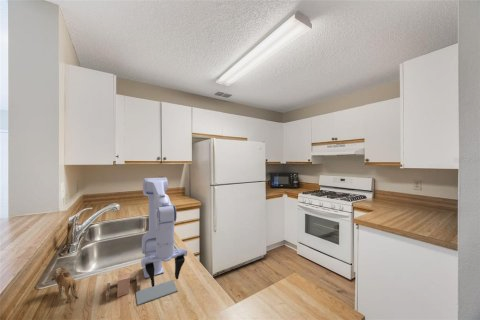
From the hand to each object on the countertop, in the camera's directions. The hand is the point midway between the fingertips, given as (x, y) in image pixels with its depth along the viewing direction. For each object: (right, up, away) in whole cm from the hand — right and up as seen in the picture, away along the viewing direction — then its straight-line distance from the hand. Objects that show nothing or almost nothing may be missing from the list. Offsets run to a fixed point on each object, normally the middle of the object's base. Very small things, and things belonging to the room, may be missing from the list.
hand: (165, 281), depth 65 cm
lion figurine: (-41, -10, +8) cm, 43 cm away
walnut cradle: (-21, -10, +11) cm, 25 cm away
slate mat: (-7, -10, +9) cm, 15 cm away
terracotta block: (-20, -10, +9) cm, 24 cm away
